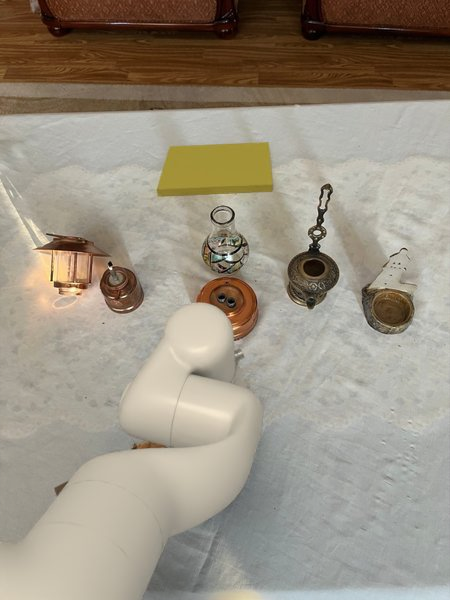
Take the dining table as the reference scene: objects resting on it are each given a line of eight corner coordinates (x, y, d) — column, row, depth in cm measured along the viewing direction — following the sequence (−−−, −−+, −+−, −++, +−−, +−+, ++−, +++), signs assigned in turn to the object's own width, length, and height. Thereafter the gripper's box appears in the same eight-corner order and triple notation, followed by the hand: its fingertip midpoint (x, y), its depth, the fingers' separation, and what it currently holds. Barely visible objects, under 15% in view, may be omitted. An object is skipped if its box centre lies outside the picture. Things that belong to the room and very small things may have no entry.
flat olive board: (268, 149, 116) (160, 154, 116) (268, 142, 114) (158, 146, 114) (272, 191, 110) (158, 196, 110) (272, 184, 108) (156, 189, 108)
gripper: (247, 321, 67) (246, 374, 83) (133, 376, 64) (155, 419, 80) (276, 369, 64) (270, 415, 80) (157, 429, 61) (175, 464, 77)
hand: (212, 417), depth 80 cm, fingers closed
